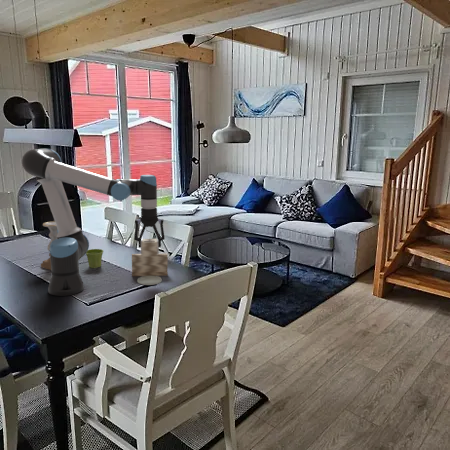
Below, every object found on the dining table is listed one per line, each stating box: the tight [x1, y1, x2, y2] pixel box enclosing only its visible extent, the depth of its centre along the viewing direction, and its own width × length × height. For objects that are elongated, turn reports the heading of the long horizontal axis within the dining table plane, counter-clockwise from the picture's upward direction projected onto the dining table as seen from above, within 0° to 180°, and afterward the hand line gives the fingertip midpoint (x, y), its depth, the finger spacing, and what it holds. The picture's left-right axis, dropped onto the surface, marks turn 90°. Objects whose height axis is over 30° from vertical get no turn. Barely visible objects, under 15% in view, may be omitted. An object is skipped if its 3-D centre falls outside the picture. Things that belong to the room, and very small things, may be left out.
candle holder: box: [40, 220, 58, 271], centre depth 212 cm, size 11×11×24 cm
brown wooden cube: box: [141, 238, 158, 257], centre depth 194 cm, size 7×7×7 cm
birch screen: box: [131, 253, 169, 277], centre depth 205 cm, size 18×4×11 cm, turn 99°
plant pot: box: [85, 248, 104, 269], centre depth 215 cm, size 9×9×9 cm
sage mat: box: [136, 275, 163, 286], centre depth 198 cm, size 12×12×1 cm
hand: (149, 253), depth 195 cm, fingers closed on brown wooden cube, 7 cm apart
